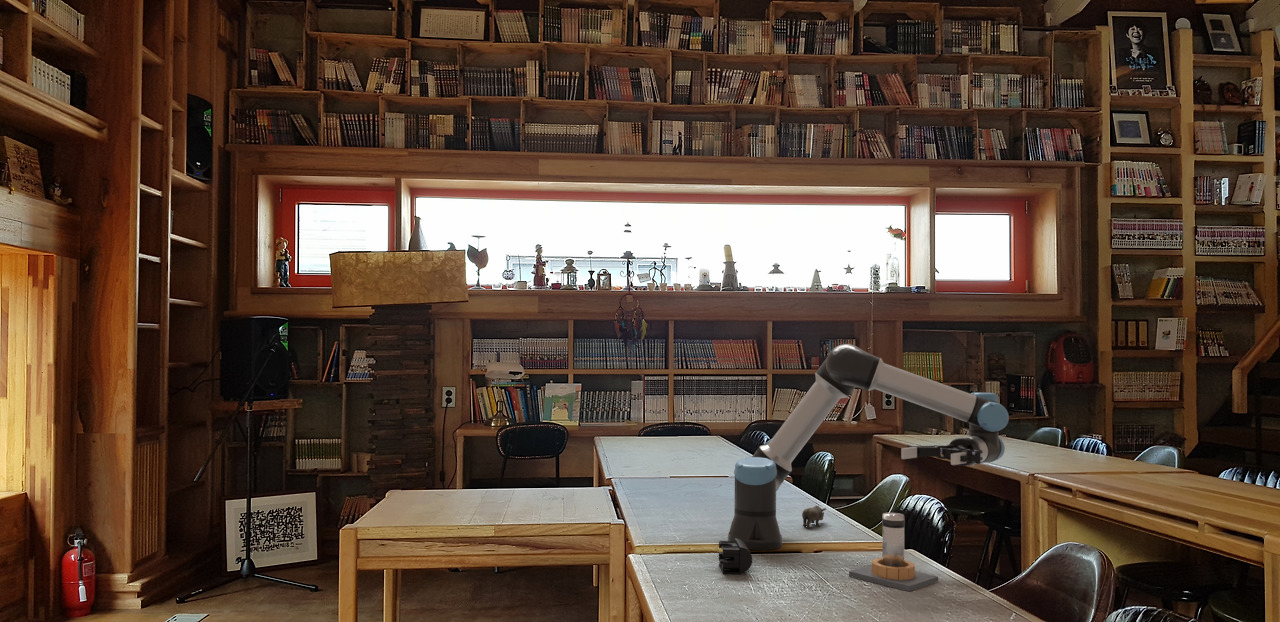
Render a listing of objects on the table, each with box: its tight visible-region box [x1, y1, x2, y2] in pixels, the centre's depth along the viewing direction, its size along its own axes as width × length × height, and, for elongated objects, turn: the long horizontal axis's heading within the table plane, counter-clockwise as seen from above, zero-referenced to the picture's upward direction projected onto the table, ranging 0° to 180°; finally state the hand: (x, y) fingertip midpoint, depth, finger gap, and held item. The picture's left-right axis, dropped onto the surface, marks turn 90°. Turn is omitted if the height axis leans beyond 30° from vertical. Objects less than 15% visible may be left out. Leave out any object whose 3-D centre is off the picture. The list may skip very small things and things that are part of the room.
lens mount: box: [848, 557, 939, 592], centre depth 193 cm, size 16×13×4 cm
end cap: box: [718, 538, 753, 576], centre depth 199 cm, size 10×7×7 cm
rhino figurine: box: [801, 505, 827, 529], centre depth 255 cm, size 4×14×6 cm, turn 142°
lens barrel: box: [881, 512, 906, 567], centre depth 194 cm, size 5×5×14 cm
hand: (926, 456), depth 205 cm, fingers open, 13 cm apart
